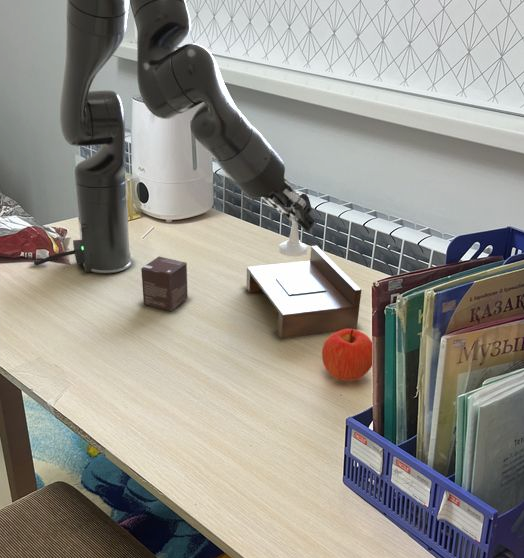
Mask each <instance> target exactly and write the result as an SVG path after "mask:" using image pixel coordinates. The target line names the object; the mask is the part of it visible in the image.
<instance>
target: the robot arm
mask: <svg viewBox="0 0 524 558" xmlns="http://www.w3.org/2000/svg"><path fill="white" fill-rule="evenodd" d="M129 7H130V8H131V12H132V16H133V19H134V24H135V26H136V30H137V37H136V48H137V50H136V51H137V53H136V54H137V55H136V56H137V57H136V58H137V59H136V62H137V63H136V64H137V65H136V72H137V73H136V76H137V78H136V79H137V85H138V91H139V94H140V97H141V100H142V102H143V104H144V105H145V107H146V108H147V109H148V110H149V112H150V113H152V115H154V116H155V117H157V118H159V119H161V120H170V119H174V118H176V117H178V116H179V115H182V114H183V113H186V112H188V111H189V110H191V109H193V108H196V107H197V106H198V105H200V107H198V109H197V110H196V111H195V113H194V114H193V116H192V117H191V122H190V130H191V133H192V135H193V137H194V138H195V140H196V141H197V142H198V143H199V144H200V145H201V147H203V148H204V150H205V151H206V152H207V153H208V154H210V156H211V157H212V158H213V159H214V160H215V162H216V163H217V165H218V166H219V168H220V169H221V170H222V171H223V172H224V173H225V174H226V176H228V178H229V179H230V180H231V181H232V182H233V183H234V184H235V185H236V186H237V187H238V188H239V189H240V190H241V191H242V193H244V195H245V196H247V197H248V198H252V199H260V200H262V201H263V202H264V203H266V204H267V205H268V206H269V208H271V209H276V210H277V212H278V213H279V214H281V215H284V216H285V218H286V219H287V220H288V221H289V222H290V223H291V224H292V221H290V220H289V217H290V216H291V217H292V218H293V219H294V220H295V221H296V222H297V223H298V226H299V227H301V229H302V230H304V231H306V232H309V231H310V230H311V228H312V227H313V226H314V224H315V222H316V221H315V219H314V218H313V216H311V214H310V213H311V211H312V210H313V208H312V204H311V200H310V197H309V196H308V195H307V194H306V193H301V194H299V195H298V194H297V192H298V191H296V190H295V189H294V188H293V185H292V183H291V182H290V181H289V180H288V179H287V178H285V173H286V166H285V162H284V160H283V159H282V158H281V157H280V155H279V154H278V153H277V152H276V150H275V149H274V148H273V147H272V145H271V144H270V143H269V142H268V141H267V140H266V138H265V137H264V136H263V135H262V134H261V132H260V131H258V130H257V128H256V127H254V126H253V125H252V124H251V123H250V122H249V121H248V119H247V118H246V116H244V114H243V113H242V112H241V111H240V109H238V107H237V106H236V104H235V103H234V100H233V99H232V97H231V95H230V92H229V91H228V89H227V86H226V85H225V82H224V79H223V77H222V74H221V71H220V69H219V66H218V63H217V61H216V60H215V58H214V55H212V53H211V51H209V50H208V49H207V48H206V47H204V46H203V45H200V44H197V43H193V42H191V43H187V44H184V45H182V46H180V47H178V46H179V45H180V44H182V43H183V42H184V40H185V39H186V38H187V36H188V35H189V33H190V31H191V27H192V21H191V17H190V13H189V9H188V6H187V2H186V0H66V41H65V43H66V44H65V45H66V47H65V64H64V66H65V67H64V71H63V79H62V86H61V87H62V88H61V96H60V103H59V123H60V129H61V133H62V136H63V138H64V140H65V141H66V143H68V145H71V146H74V147H90V146H100V148H99V149H98V150H97V151H96V152H95V153H94V154H93V155H91V156H89V157H87V158H86V159H84V160H82V161H80V162H78V163H77V164H76V165H75V168H74V179H75V190H76V199H77V208H78V209H77V210H78V217H77V219H78V228H79V229H78V230H79V237H80V239H74V240H72V242H73V250H69V251H64V252H63V251H62V252H58V253H55V254H52V255H49V256H47V257H45V258H43V259H40V260H34V261H33V265H34V266H39V265H43V264H45V263H47V262H49V261H52V260H53V259H58V258H63V257H66V256H72V255H74V258H75V261H76V262H75V263H76V264H77V265H78V264H82V265H83V268H84V271H85V273H95V274H115V273H120V272H123V271H125V270H127V269H128V268H130V267H131V266H132V259H131V247H130V246H131V245H130V231H129V215H128V213H129V212H128V201H127V199H128V198H127V183H126V182H127V181H126V161H127V160H126V120H125V119H126V118H125V117H126V116H125V110H124V105H123V101H122V99H121V97H120V95H119V94H118V93H117V92H116V91H114V90H109V89H108V90H107V89H105V90H90V89H91V86H92V84H93V81H94V79H95V78H96V77H97V75H98V73H100V71H101V70H102V69H103V68H104V66H105V65H106V64H107V63H108V62H109V60H110V59H111V58H112V57H113V56H114V54H115V53H116V51H117V50H118V48H119V47H120V46H121V44H122V42H123V40H124V38H125V35H126V32H127V24H128V15H129ZM293 209H294V211H295V212H293Z"/></svg>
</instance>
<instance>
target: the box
mask: <svg viewBox="0 0 524 558" xmlns="http://www.w3.org/2000/svg"><path fill="white" fill-rule="evenodd" d="M187 267H188V264H187V262H185V261H181V260H176V259H172V258H167V257H163V256H158V257H156V258H154V259H153V260H152V261H150V262H148V263H146V264H145V265H144V266H143V267H141V268H140V271H141V285H142V297H143V305H146V306H149V307H150V306H151V307H154V308H158V309H163V310H166V311H170V312H172V311H173V310H175V309H176V308H177V307H178V306H180V305H181V304H182V303H184V302H185V301H186V300H188V297H189V295H188V269H187Z"/></svg>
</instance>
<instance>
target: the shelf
mask: <svg viewBox="0 0 524 558" xmlns="http://www.w3.org/2000/svg"><path fill="white" fill-rule="evenodd" d="M245 285H246V286H245V288H246V290H247V291H248V293H260V292H263V293H264V295H265V297H266V298H267V299H268V301H270V303H271V305H273V307H274V308H275V310H276V311H277V312H278V317H277V319H278V321H277V334H278V335H279V337H280V339H288V338H295V337H302V336H310V335H318V334H325V333H335V332H338V331H340V330H343V329H355V330H358V321H359V313H360V305H361V297H362V289H361V288H360V287H359V286H358V285H357V283H355V282H354V280H352V279H351V278H350V277H349V276H348V275H347V274H346V272H344V271H343V270H342V269H341V267H339V266H338V265H337V264H336V263H335V262H334V261H333V260H332V259H331V258H330V257H329V256H328V255H327V254H326V253H325V252H324V251H323V250H322V249H321V248H320V247H319V246H318V245H310V255H309V260H302V261H293V262H292V261H291V262H282V263H272V264H261V265H251V266H246V284H245Z"/></svg>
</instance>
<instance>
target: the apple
mask: <svg viewBox="0 0 524 558" xmlns="http://www.w3.org/2000/svg"><path fill="white" fill-rule="evenodd" d="M372 343H373V342H372V339H370V337H369V336H368V335H367V334H366V333H364V332H361V331H360V330H358V329H343V330H340V331H334V332H332V334H330V335H329V336H328V337H327V339H326V340H325V341H324V343H323V345H322V350H321V358H322V363H323V367H324V368H325V370H326V371H327V372H328V374H329V375H331V376H332V377H334V378H336V379H338V380H341V381H354V380H355V381H356V380H359V379H361V378H362V377H364V376H365V375H366V374H367V373H368V372H370V369H371V368H372V367H373V365H372Z"/></svg>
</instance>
